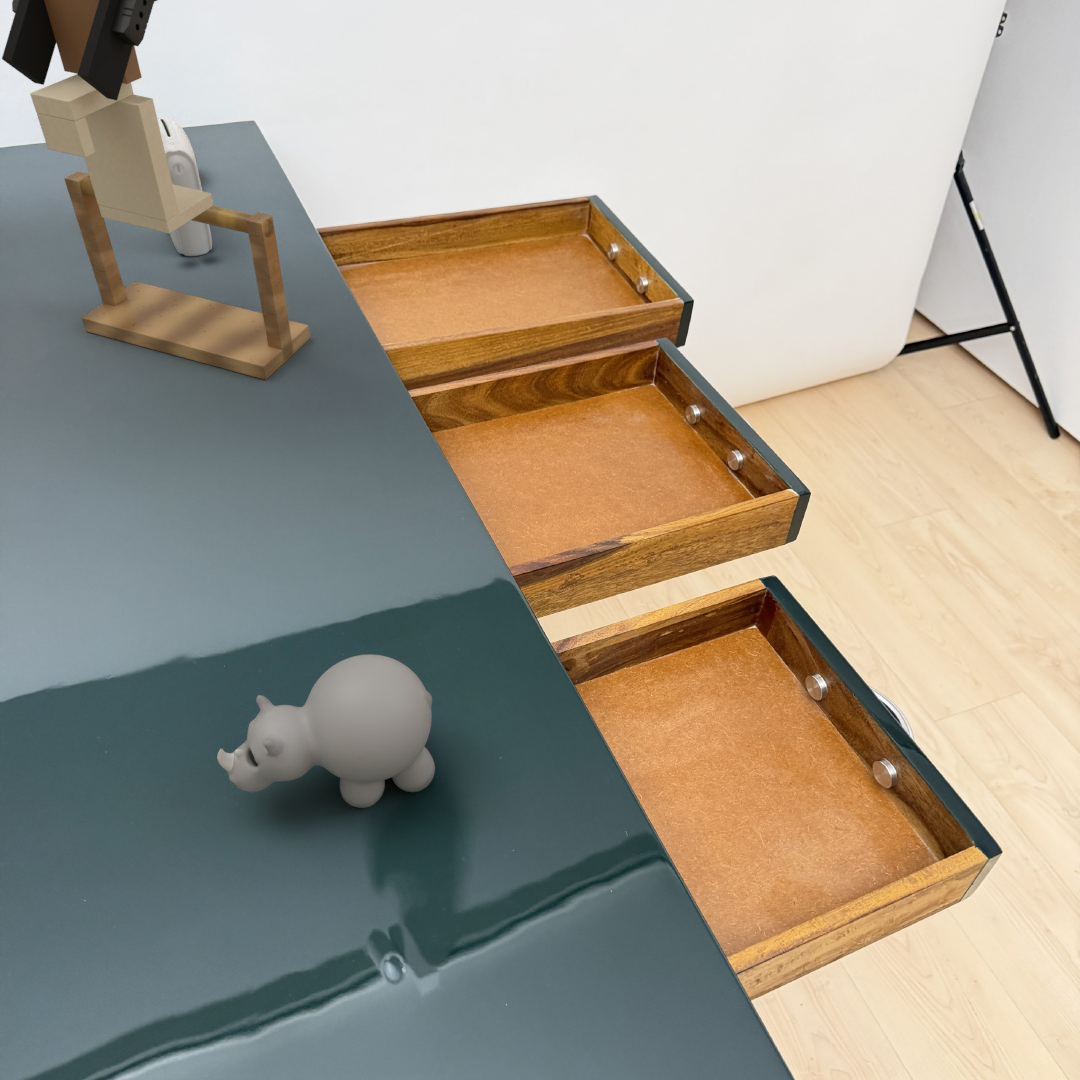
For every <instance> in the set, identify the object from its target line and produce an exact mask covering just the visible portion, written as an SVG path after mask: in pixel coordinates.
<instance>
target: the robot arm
mask: <svg viewBox="0 0 1080 1080" xmlns="http://www.w3.org/2000/svg"><path fill="white" fill-rule="evenodd" d="M157 1H158V0H99V3H98V6H97V10H96V13H95V17H94V20H93V23H92V27H91V30H90V34H89V37H88V40H87V44H86V47H85V51H84V54H83V57H82V61H81V64H80V68H79V71H78V74H77V75H78V76H80V77H81V78H82V79H83V80H85V81H86V82H87V83H88V84H90V85H91V86H92V87H94V88H95V89H96V90H97V91H99V92H100V93H101V94H102V95H104V96H105V97H106V98H108V99H113V100H117V99H118V95H119V92H120V88H121V85H122V82H123V78H124V75H125V72H126V68H127V65H128V61H129V58H130V55H131V51H132V48H133V45H134V47H139V46H140V44H141V43H142V42H143V40H144V37H145V34H146V30H147V27H148V23H149V20H150V17H151V15H152V14H151V13H152V10H153V7H154V3H155V2H157ZM11 9H12V12H13V13H14V16H13V19H12V23H11V26H10V29H9V33H8V36H7V40H6V43H5V47H4V50H3V53H2V57H1V60H2V61H4V62H5V63H7V64H8V65H9V66H10V67H12V68H13V69H15V70H16V71H17V72H18V73H20V74H22V76H24V77H25V78H27V79H28V80H30V81H31V82H32V83H33V84H38V85H43V86H44V85H45V83H46V79H47V75H48V72H49V68H50V66H51V62H52V58H53V55H54V52H55V48H56V46H57V43H56V40H55V36H54V33H53V29H52V26H51V22H50V19H49V16H48V12H47V9H46V5H45V2H44V0H12V2H11Z"/></svg>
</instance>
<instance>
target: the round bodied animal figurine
mask: <svg viewBox="0 0 1080 1080" xmlns="http://www.w3.org/2000/svg"><path fill="white" fill-rule="evenodd" d="M255 701H256V704H257V706H258V708H259V713H258V714H257V715H256V716H255V718H254V719H252V720H251V721H250V722H249V724H248V728H247V735H246V740H245V741H244V742H243V743H242V744H241V745H239V746H238V747H237V748H236V749H235V750H234V751H232V752H230V753H229V752H226V751H224V749H223V748H220V749H219V751H218V752H217V755H216V756H217V757H216V759H217V762H218V764H219V765H220V766H221V768H223V769H224V770H225V771H226V773H227V775H228V779H229V781H230V782H231V783H232V784H233V785H234V786H235V787H236V788H237V789H239V790H241V791H242V792H245V793H256V792H261V791H263V790H266V789H267V788H268V787H270V786H271V785H272V784H274V783H277V782H292V781H294V780H297V779H300V778H301V777H303V776H304V775H306V774H307V773H308V772H309V771H310V770H311V769H312V768H314V767H321V768H324V769H325V770H327V771H328V772H330V774H332V775H334V776H335V777H337V778H339V790H340V794H341V797H342V799H343V800H344V801H345V803H347V804H348V805H350V806H352V807H354V808H359V809H366V808H369V807H372V806H374V805H375V804H376V803H377V802H378V801H379V800H380V799H381V798H382V796H383V795H384V792H385V788H386V781H385V780H389V779H390V778H391V779H392V781H393V782H394V784H395V785H396V786H397V788H399V790H402V791H404V792H408V793H418V792H421V791H423V790H424V789H426V788H427V787H428V786H429V785H430V783H432V781H433V779H434V776H435V772H436V766H435V762H434V758H433V756H432V755H431V753H430V751H429V750H428V749H427V747H426V745H427V743H428V742H427V741H428V739H429V735H430V732H431V727H432V720H433V719H432V716H433V715H432V705H433V697H432V694H431V693H430V692H429V691H427V690H426V688H425V686H424V684H423V682H422V681H421V679H420V678H419V677H418V675H417V674H416V673H415V672H414V671H413V670H412V669H410V667H408V666H407V665H405V664H404V663H402V662H400V661H399V660H397V659H395V658H392V657H390V656H385V655H381V654H371V653H370V654H359V655H355V656H350V657H348V658H345V659H342V660H341V661H338V662H336V663H335V664H334V665H332V666H331V667H329V668H328V669H327V670H326V671H324V673H322V674H321V675H320V677H319V678H318V679H317V680H316V681H315V683H314V684H313V686H312V688H311V690H310V692H309V694H308V697H307V699H306V701H305V703H304V705H302V706H295V705H292V704H291V705H290V704H279V705H274V704H273V703H272V702H271V700H270V699H269V698H267V697H266V696H264V695H261V694H257V696H256V699H255Z"/></svg>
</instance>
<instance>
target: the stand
mask: <svg viewBox="0 0 1080 1080" xmlns="http://www.w3.org/2000/svg"><path fill="white" fill-rule="evenodd" d="M64 182H65V186H66V188H67V192H68V195H69V198H70V201H71V205H72V209H73V211H74V213H75V214H74V215H75V218H76V220H77V224H78V227H79V230H80V234H81V238H82V240H83V243H84V245H85V249H86V253H87V256H88V259H89V262H90V266H91V269H92V271H93V276H94V278H95V281H96V284H97V289H98V291H99V295H100V298H101V301H102V303H101V304H99V305H98V306H96V307H95V308H94V309H92V310H91V311H89V312H88V313H86V314H85V315H83V316H81V322H82V324H83V327H84V331H85V332H88V333H91V334H95V335H98V336H101V337H106V338H109V339H113V340H117V341H121V342H124V343H127V344H132V345H135V346H139V347H143V348H145V349H146V348H147V349H150V350H154V351H158V352H161V353H165V354H168V355H172V356H176V357H180V358H184V359H187V360H191V361H194V362H198V363H202V364H205V365H210V366H213V367H216V368H220V369H224V370H228V371H232V372H236V373H239V374H242V375H247V376H250V377H254V378H256V379H257V378H258V379H261V380H264V381H266V380H268V379H269V378H270V377H271V376H272V375H274V374H275V372H277V370H279V369H280V368H281V367H283V365H284V364H285V363H286V362H287V361H288V360H289V359H290V358H291V357H292V356H293V355H295V354H296V353H297V352H298V351H299V350H300V349H301V348H302V347H303V346H304V345H305V344H306V343H307V342H308V341H309V340H311V333H310V325H309V324H306V323H301V322H298V321H295V320H294V321H293V320H289V315H288V308H287V307H288V306H287V301H286V294H285V288H284V283H283V275H282V274H283V273H282V268H281V263H280V255H279V250H278V242H277V236H276V229H275V223H274V217H273V214H268V213H265V212H259V211H257V212H256V213H254V214H251V213H246V212H242V211H239V210H234V209H229V208H225V207H221V206H215V205H213V206H212V207H210V208H209V209H207V210H206V211H204V212H203V213H201V214H199V215H198V216H196V217H195V218H193V219H192V221H196V222H201V223H205V224H209V226H214V227H219V228H222V229H227V230H231V231H234V232H235V231H236V232H238V233H239V232H240V233H244V234H248V239H249V245H250V251H251V257H252V262H253V263H252V264H253V269H254V273H255V279H256V285H257V291H258V296H259V301H260V308H261V312H259V311H254V310H250V309H246V308H242V307H238V306H235V305H230V304H226V303H222V302H219V301H214V300H210V299H207V298H202V297H199V296H195V295H191V294H187V293H183V292H180V291H175V290H171V289H167V288H165V287H164V288H163V287H161V286H155V285H151V284H147V283H144V282H140V281H133V282H132V283H130V284H128V285H127V286H126V287H125V286H124V285H125V284H124V282H123V278H122V276H121V272H120V268H119V265H118V261H117V259H116V255H115V251H114V248H113V244H112V240H111V238H110V237H111V236H110V234H109V230H108V227H107V224H106V221H105V218H103V217H102V216H101V213H100V209H99V206H98V205H99V204H98V203H97V200H96V196H95V193H94V190H93V186H92V183H91V179H90V176H89V173H88V172H82V171H78V170H77V171H76V172H74V173H71V174H70V175H68V176H66V177H64Z"/></svg>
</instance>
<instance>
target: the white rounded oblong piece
mask: <svg viewBox="0 0 1080 1080" xmlns="http://www.w3.org/2000/svg"><path fill="white" fill-rule="evenodd" d="M157 120H158V124H159V129H160V133H161V137H162V142H163V146H164V150H165V155H166V159H167V163H168V168H169V172H170V176H171V181H172V184H173V185H178V186H182V187H186V188H191V189H195V190H199V191H203V187H202V183H201V178H200V173H199V169H198V162H197V163H196V158H197V157H196V158H195V155H196V154H195V155H194V153H195V152H194V149H193V145H192V144H191V141H190V139H189V136H188V135H187V133H186V132H185V130H184V129H183V127H182V126H181V125H180V124H179V123H178V122H177V121H176V120H174V119H173V118H170V117H167V116H164V117H162V118H161V117H157ZM169 236H170V238H171V241H172V243H173V245H174V248H175V250H176V251H177V253H178V254H180V255H184V256H185V257H197V256H203V255H206V254H208V253H209V252H210V251H211V250H213V239H212V233H211V228H210V225H209V224H205V223H201V222H196V221H192V220H190V221H189V222H187V223H185V224H184V225H182V226H181V227H179V228H178V229H176V230H175V231H173V232H171V233H170V234H169Z"/></svg>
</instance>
